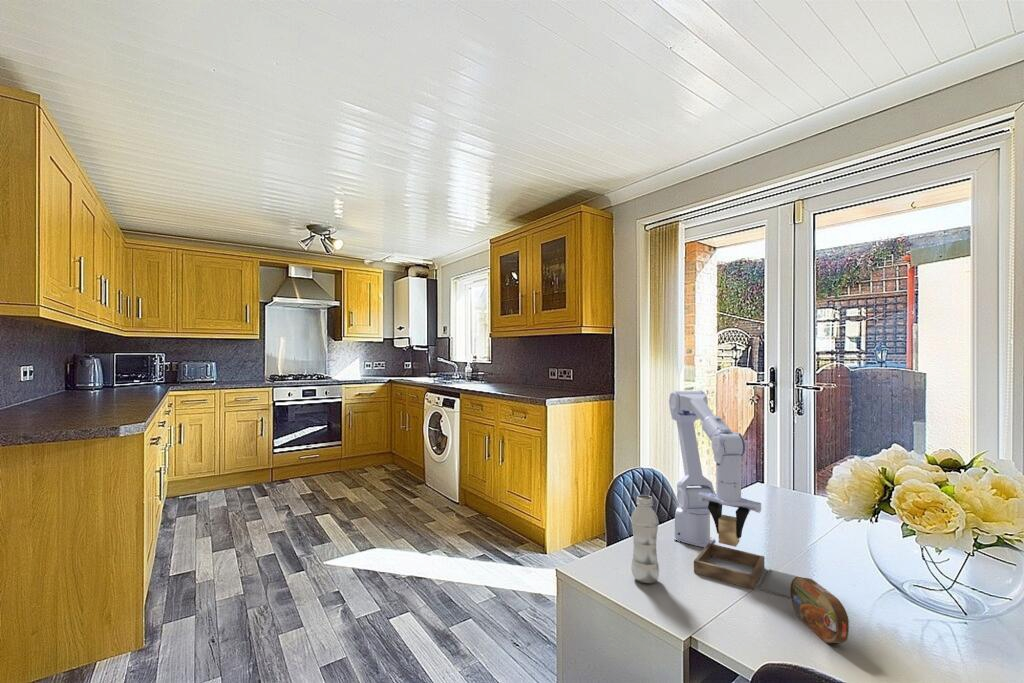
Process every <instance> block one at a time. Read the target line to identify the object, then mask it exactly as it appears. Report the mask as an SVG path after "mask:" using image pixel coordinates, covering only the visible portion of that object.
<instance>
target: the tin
mask: <svg viewBox="0 0 1024 683" xmlns="http://www.w3.org/2000/svg"><path fill="white" fill-rule="evenodd" d="M801 577H802V576H798V577H795V578H794V579H793V580H792V583H791V587H790V595H791V598H790V600H791V604H792V605H791V606H792V608H793V609H794V612H795V614H796V615H797V617H798V618H799V619H800V620H801V621H802V622H803V624H805V625H806V626H807V627H808V628H809V629H811V631H813V633H814V634H816V635H817V637H819V638H820V639H821V640H822V641H823V642H825V643H827V644H843V643H845V642H846V641H847V640H848V638H849V626H850V625H849V622H850V620H849V616H848V613H847V610H846V608H845V607H844V604H842V602H841V601H840V600H839V599H838V598H837V596H835V595H833V594H832V593H831V592H830V591H829V590H827V589H826V588H825V587H823V586H822V585H821V584H819V583H818V582H817V581H815V580H814V579H812V578H809V577H802V578H801Z"/></svg>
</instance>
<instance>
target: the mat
mask: <svg viewBox="0 0 1024 683" xmlns="http://www.w3.org/2000/svg"><path fill="white" fill-rule="evenodd" d="M795 577H799V576H797V575H795V574H794V575H793V574H790V573H786V572H783V571H782V572H781V571H777V570H775V569H768V571H767V573H766V575H765V578H764V580H763V582H762V584H761V587H760V591H763V592H767V593H770V594H774V595H778V596H781V597H784V598H788V599H791V595H790V587H791V583H792V580H793V579H794V578H795ZM800 577H801V578H803V577H802V576H800Z"/></svg>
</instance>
